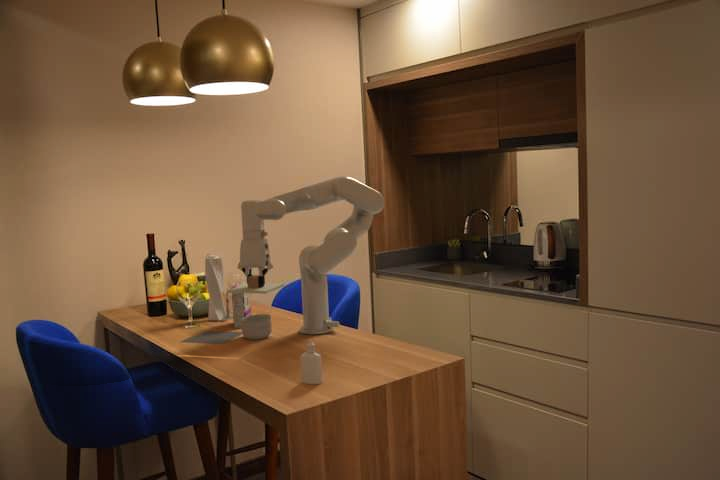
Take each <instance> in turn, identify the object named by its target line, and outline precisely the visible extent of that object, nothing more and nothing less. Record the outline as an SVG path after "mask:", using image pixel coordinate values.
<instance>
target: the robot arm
mask: <svg viewBox="0 0 720 480" xmlns="http://www.w3.org/2000/svg"><path fill="white" fill-rule="evenodd" d="M341 201H345V202H347V203H349V204H351V205H352V206H353V209H352V213H351V214H350V216H349V217H348V218H346V220H344V221H343V222H341V223H340V224H338V225H337V226H336V227H334V228H333V229H331V230H330V231H329V232H328V233H326V235H324V239H323V243H322V244H320V245H319V246H318V245H314V244H313V245H312V244H310V245H307V246H306V247H304V248H303V249H301V251H300V254H299V256H298V267H299V271H300V280H301V302H302V304H301V305H302V324H303V325H302V326H300V327H299V329H298V330H299V333H301V334H304V335H305V334H306V335H322V334H327V333H331V332H333V331H334V328H340V322H339V321H338V320H337V321H336V320H332V317H331V316H330V314H329V293H328V292H329V290H328V287H329V286H328V276H327V273H328V272H331V271H332V270H333V269H334V268H336V267H337V266H338V265H340V264H341V263H342V262H344V261H345V260H347V259H348V258H349V257H351V256H352V254H353V253H354V252H355V251H356V249H357V243H358V242H357V241H358V240H359V239H361V237H363V236H364V235H365V234H367V232H368V231H369V230H370V228H371V226H372V223H373V218H374V215H376V214H378V213H380V212H381V211H382V210H384V207H385V203H386V200H385V198H384V196H383V194H382V193H381V192H379V191H377V189H374V188H372V187H370V186H368V185H366V184H364V183H362V182H360V181H359V180H357V179H355V178H352V177H350V176H338V177H334V178H330V179H328V180H324V181H321V182H318V183H314V184H311V185H308V186H304V187H301V188H299V189H295V190H292V191H289V192H286V193H282V194H280V195H279V194H278V195H276V196H273V197H269V198H266V199H265V200H254V199H252V200H244V201H241V204H240V207H241V208H240V211H241V228H242V231H241V232H242V239H241V240H240V248H239V262H238V265H237V269H239V270H240V271H241V272H243V274H244V275H245V277H246V282H247V284H248V277H250V276H253V275H254V274H253V269H254V268H257V270H258V273H259V274H258V275H259V276H258V282H259V288H261V287H264V284H266V279H265V278H266V277H265V276H266V275H267V273H268V272H269V271H270V270H273V268H274V266H273V263H272V262H271V252H270V248H269V247H270V246H269V242H268V238H265V237H266V236H268V231H265V225H264V223H265V222H264V220H267V221H279V220H281V219H283V218H284V217H285V215H287V214H291V213H295V212H300V211H301V212H302V211H310V210H315V209H319V208H321V207H324V206H328V205H330V204H334V203H337V202H341Z"/></svg>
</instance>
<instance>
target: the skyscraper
mask: <svg viewBox="0 0 720 480" xmlns="http://www.w3.org/2000/svg"><path fill="white" fill-rule="evenodd" d="M204 260H205V262H204V269H205V270H204V273H205V274H204V275H205V284H206V289H207V292H208V296H209V297H208V298H209V300H208V316H207V317H208V318H207V320H208V322H226V321H228V320H230V319H232V318H233V316H232V314H231V309H232V308H231V306H230V305H231V304H230V302H231V301H230V299H231V298H230V297H229V293H227V290H229V289H228V287H226V298H225V302H226V309H225V304H224V298H223V290H224V289H223V288H224V282H225V281H224V280H225V277H224V275H225V274H224V265H223V258H222V256H221V255H220V254H219V253H217V252H209V253H206V256H205V259H204ZM225 310H226V311H225Z"/></svg>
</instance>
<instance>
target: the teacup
mask: <svg viewBox="0 0 720 480" xmlns="http://www.w3.org/2000/svg"><path fill="white" fill-rule="evenodd" d="M240 321H241V327H242V328H241V332H242V333H243V334H242V335H243V337H244V338H246V339H247V340H250V341H256V340H257V341H258V340H265V339H267V338H268V337H269V336H270V335H271V333H272V330H273V329H272V315H270V314H267V313H260V314H251V315H250V316H246V317H243V318H241V319H240Z"/></svg>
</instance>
